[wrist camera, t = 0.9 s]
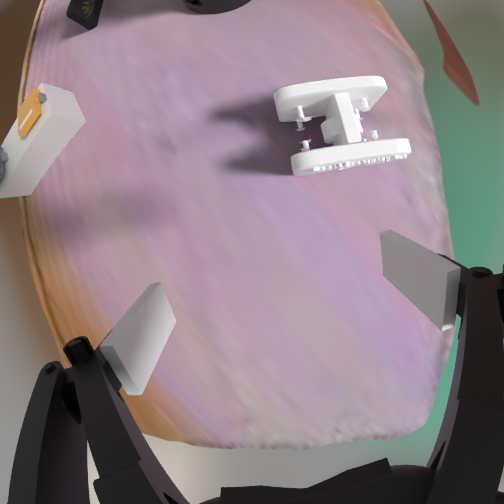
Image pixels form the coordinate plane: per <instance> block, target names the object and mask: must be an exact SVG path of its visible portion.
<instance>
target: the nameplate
mask: <svg viewBox="0 0 504 504" xmlns="http://www.w3.org/2000/svg"><path fill="white" fill-rule="evenodd" d="M102 3H103V0H71V1H70V4H69V7H68V10H67V13H66V14H67V17H69V18H70V19H72V20H74V21H75V22H77V23H79V24H80V25H82V26H84V27H85V28H87V29H89V30H90V29H92V28H94V27H96V26H97V23H98V19H99V15H100V11H101V7H102Z"/></svg>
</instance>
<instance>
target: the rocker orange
mask: <svg viewBox="0 0 504 504" xmlns="http://www.w3.org/2000/svg"><path fill="white" fill-rule="evenodd" d="M39 92H40V90H39V89H37V88H35V87H34V88H33V89H32V91H31V92H30V94H29V95H28V96H27V98H26V99H25V101H24V102H23V104H22V105H21V107H20V109H19V110H18V135H19V136H23V137H25V135H26V134H27V132H28V131H29V129H30V128H31V126H32V125H33V123H34V122H35V120H36V119H37V117H38V116H39V115H40V113H41V106H40V101H39V98H38V95H37V94H38V93H39Z"/></svg>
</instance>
